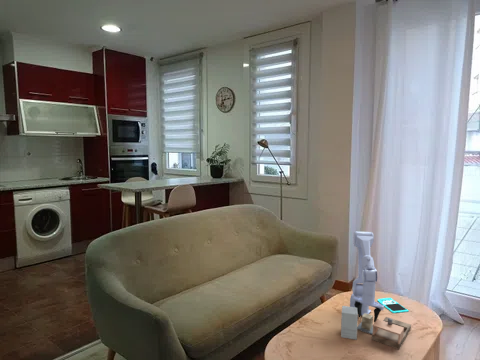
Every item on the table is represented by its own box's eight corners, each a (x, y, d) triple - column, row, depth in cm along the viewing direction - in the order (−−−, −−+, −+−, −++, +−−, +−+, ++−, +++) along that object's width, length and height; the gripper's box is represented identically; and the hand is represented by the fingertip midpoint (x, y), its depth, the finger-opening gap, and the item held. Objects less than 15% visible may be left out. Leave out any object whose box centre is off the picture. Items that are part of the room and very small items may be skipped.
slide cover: (372, 334, 159) (373, 320, 158) (377, 328, 165) (377, 314, 164) (399, 344, 152) (400, 329, 151) (403, 337, 157) (404, 322, 156)
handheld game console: (390, 299, 201) (390, 297, 201) (409, 312, 186) (409, 310, 185) (375, 300, 199) (375, 298, 199) (393, 314, 184) (393, 312, 183)
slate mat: (356, 329, 168) (356, 327, 168) (361, 322, 174) (361, 321, 174) (372, 334, 163) (372, 333, 163) (377, 327, 169) (377, 326, 169)
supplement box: (356, 332, 165) (358, 307, 164) (356, 340, 159) (358, 314, 157) (341, 329, 168) (342, 305, 166) (340, 337, 161) (341, 312, 159)
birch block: (361, 327, 168) (362, 316, 168) (364, 324, 171) (364, 313, 171) (369, 330, 166) (370, 318, 165) (372, 327, 169) (372, 315, 168)
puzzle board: (371, 339, 159) (372, 335, 159) (385, 320, 176) (385, 316, 176) (399, 349, 152) (399, 345, 152) (410, 328, 169) (411, 324, 169)
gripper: (351, 291, 168) (350, 317, 170) (381, 300, 159) (380, 327, 160) (356, 287, 173) (355, 312, 175) (385, 295, 164) (384, 321, 166)
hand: (367, 319), depth 168 cm, fingers open, 7 cm apart
